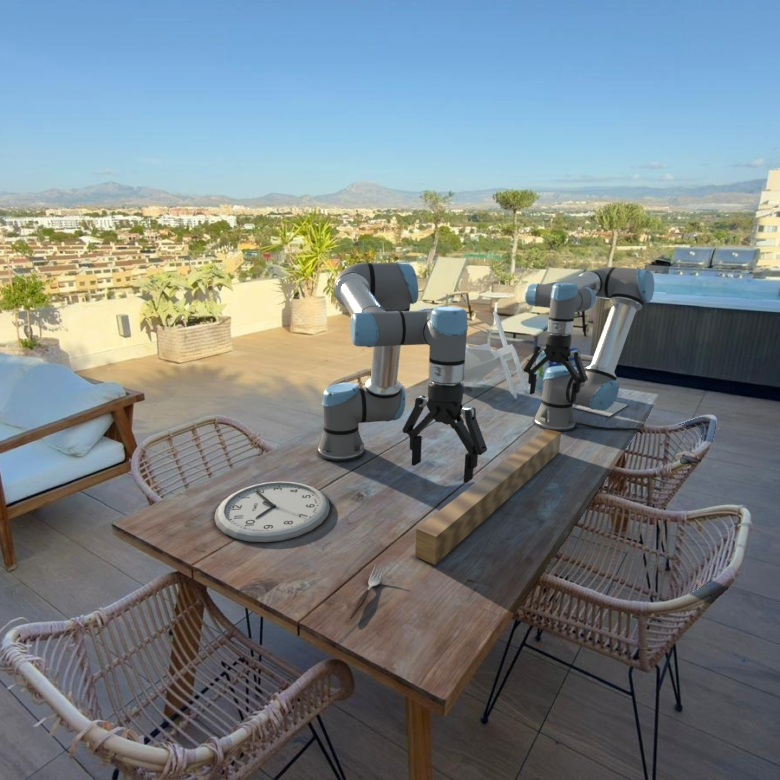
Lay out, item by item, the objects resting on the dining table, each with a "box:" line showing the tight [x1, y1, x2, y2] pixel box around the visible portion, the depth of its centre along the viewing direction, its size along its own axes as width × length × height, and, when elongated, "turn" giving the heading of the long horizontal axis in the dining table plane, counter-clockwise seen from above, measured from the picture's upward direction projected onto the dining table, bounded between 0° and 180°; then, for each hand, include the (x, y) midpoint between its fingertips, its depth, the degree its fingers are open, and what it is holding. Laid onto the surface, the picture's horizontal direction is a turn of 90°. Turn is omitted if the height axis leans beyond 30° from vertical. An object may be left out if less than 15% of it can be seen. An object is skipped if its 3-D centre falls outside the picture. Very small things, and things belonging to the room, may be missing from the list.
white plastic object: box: [462, 310, 531, 400], centre depth 245 cm, size 37×45×31 cm
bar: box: [414, 429, 562, 566], centre depth 149 cm, size 80×5×7 cm, turn 143°
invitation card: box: [573, 401, 629, 418], centre depth 226 cm, size 21×1×15 cm
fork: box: [349, 563, 386, 620], centre depth 108 cm, size 3×16×2 cm, turn 160°
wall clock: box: [213, 481, 331, 543], centre depth 139 cm, size 30×2×30 cm
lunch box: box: [534, 346, 579, 393], centre depth 245 cm, size 26×11×21 cm, turn 135°
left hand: (441, 471), depth 117 cm, fingers open, 13 cm apart
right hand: (552, 397), depth 170 cm, fingers open, 13 cm apart
